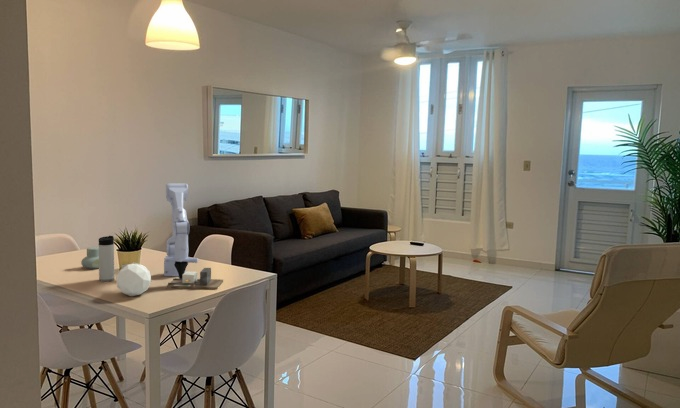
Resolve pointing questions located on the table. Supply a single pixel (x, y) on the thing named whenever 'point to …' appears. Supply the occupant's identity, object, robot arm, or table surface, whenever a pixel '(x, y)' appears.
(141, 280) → the geodesic sphere
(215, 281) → the base
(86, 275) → the table surface
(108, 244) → the travel mug
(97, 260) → the air freshener
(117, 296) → the table surface
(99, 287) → the table surface
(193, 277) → the block
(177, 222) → the robot arm
